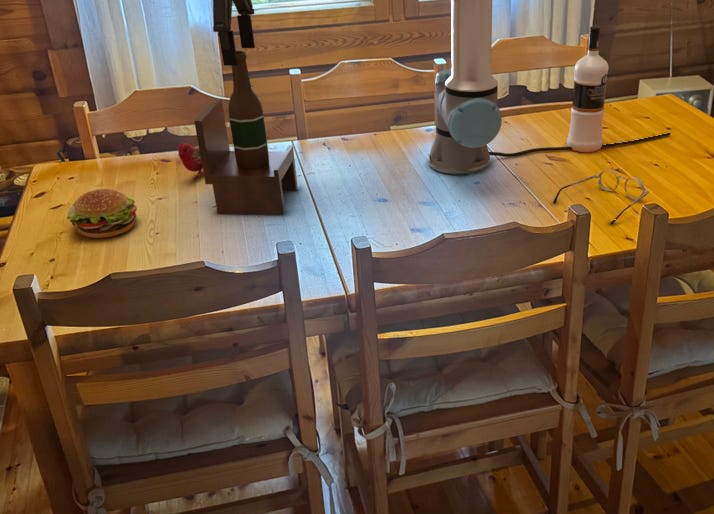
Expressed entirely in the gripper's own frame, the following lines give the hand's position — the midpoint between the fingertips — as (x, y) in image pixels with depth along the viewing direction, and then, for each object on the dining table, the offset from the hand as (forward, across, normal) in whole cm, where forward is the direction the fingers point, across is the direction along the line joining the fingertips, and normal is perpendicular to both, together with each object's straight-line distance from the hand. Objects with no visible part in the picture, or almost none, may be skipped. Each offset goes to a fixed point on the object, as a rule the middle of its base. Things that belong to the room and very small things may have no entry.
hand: (239, 56), depth 169 cm
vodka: (+33, -37, +76) cm, 91 cm away
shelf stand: (+32, 0, 0) cm, 32 cm away
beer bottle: (+23, 0, 0) cm, 23 cm away
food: (+32, +16, -31) cm, 47 cm away
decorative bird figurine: (+32, -15, -18) cm, 40 cm away
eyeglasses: (+33, -1, +78) cm, 84 cm away
